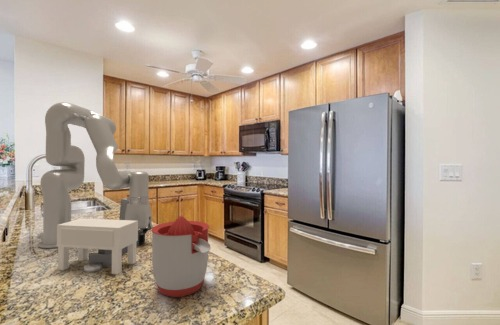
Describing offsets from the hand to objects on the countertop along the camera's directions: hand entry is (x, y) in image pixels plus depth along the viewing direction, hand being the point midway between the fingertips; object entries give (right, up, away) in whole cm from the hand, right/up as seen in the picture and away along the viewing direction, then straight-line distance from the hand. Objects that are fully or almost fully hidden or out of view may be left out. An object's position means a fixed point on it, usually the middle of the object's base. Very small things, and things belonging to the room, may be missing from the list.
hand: (138, 243), depth 108 cm
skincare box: (-16, -1, +25) cm, 30 cm away
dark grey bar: (-1, 0, -10) cm, 10 cm away
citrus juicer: (+29, -1, -38) cm, 48 cm away
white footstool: (-3, 0, -23) cm, 23 cm away
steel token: (-4, -1, -26) cm, 26 cm away
